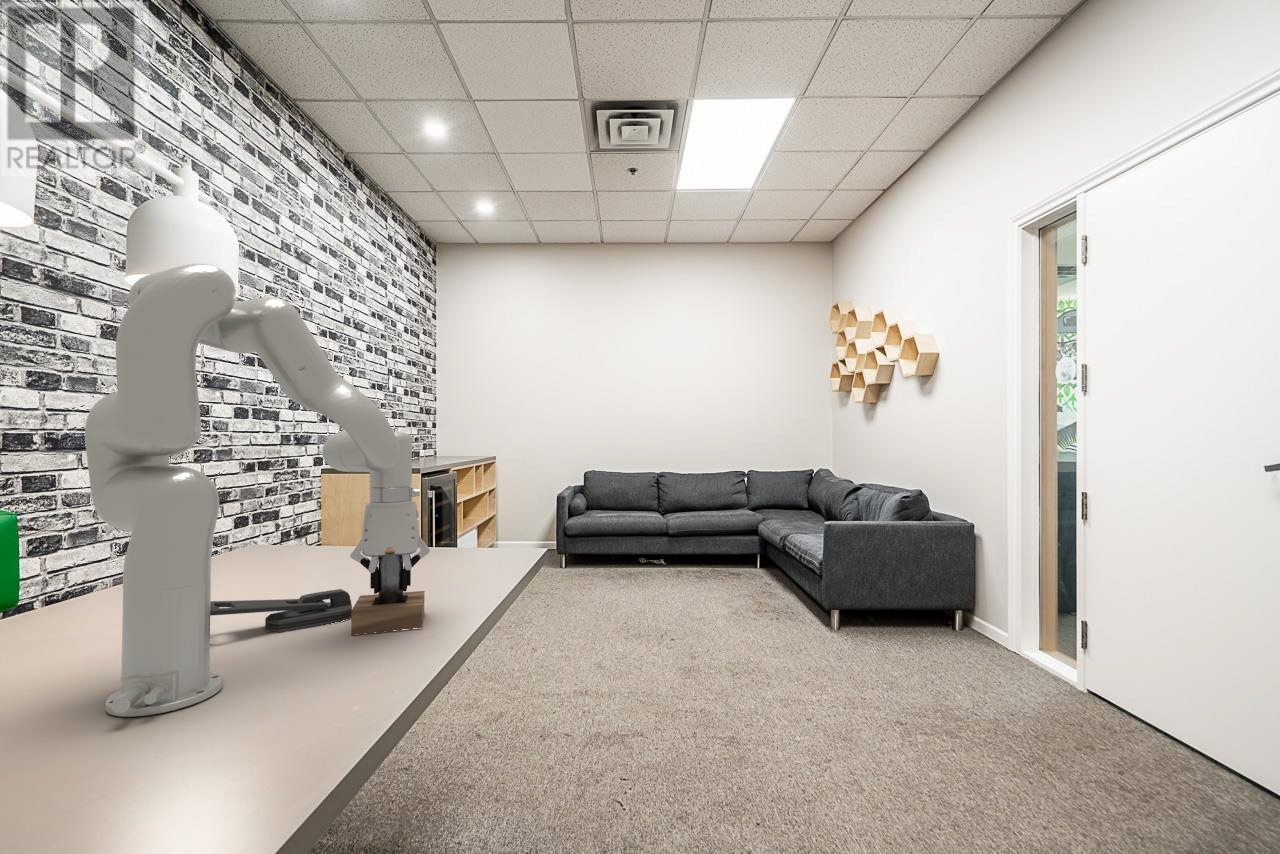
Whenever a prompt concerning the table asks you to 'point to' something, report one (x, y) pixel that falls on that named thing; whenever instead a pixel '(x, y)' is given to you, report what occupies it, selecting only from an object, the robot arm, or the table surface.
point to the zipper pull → (293, 610)
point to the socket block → (387, 614)
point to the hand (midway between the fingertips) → (390, 589)
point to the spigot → (390, 578)
